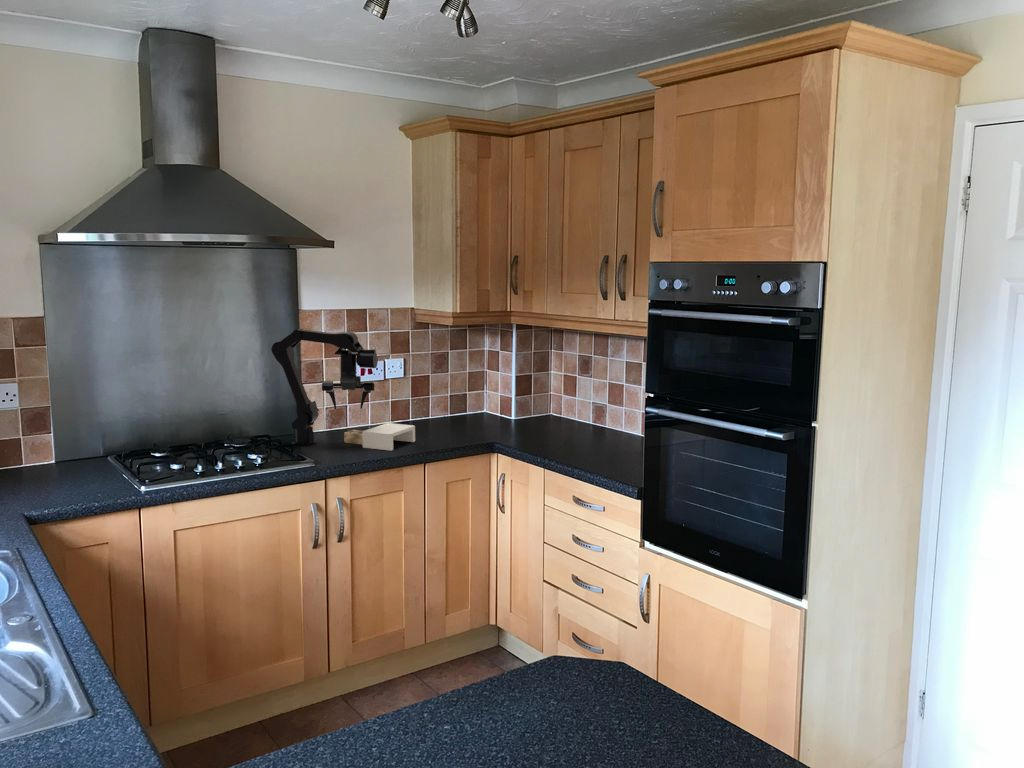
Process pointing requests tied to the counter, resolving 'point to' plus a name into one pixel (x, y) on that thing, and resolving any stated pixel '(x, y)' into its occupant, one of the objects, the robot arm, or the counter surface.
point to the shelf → (387, 435)
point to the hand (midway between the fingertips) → (348, 409)
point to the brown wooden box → (353, 437)
